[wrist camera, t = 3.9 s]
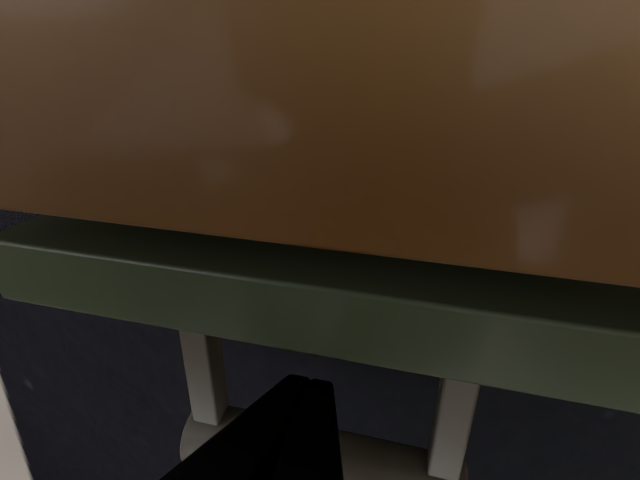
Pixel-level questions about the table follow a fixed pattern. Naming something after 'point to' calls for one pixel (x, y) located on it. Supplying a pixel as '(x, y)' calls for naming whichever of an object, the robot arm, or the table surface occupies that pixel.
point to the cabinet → (336, 125)
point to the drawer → (340, 323)
